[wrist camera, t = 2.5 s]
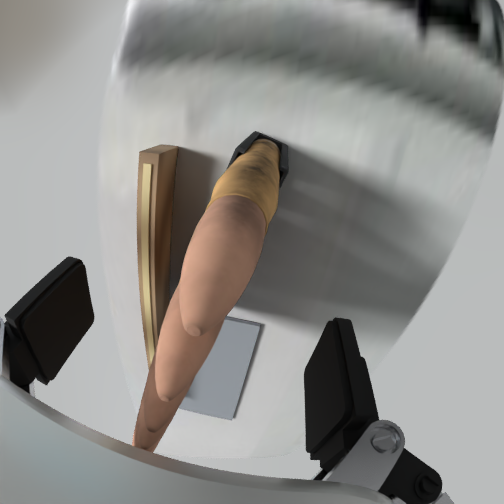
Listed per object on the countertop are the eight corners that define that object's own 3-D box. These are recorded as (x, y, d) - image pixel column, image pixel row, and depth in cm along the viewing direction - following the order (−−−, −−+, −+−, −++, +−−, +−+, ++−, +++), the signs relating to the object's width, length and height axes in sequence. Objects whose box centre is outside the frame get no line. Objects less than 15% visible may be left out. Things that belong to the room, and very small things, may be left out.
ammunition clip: (213, 300, 18) (157, 479, 7) (187, 289, 18) (112, 461, 7) (288, 146, 13) (319, 303, 2) (254, 130, 13) (127, 219, 2)
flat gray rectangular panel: (174, 304, 18) (173, 307, 18) (260, 323, 18) (260, 326, 18) (177, 405, 26) (176, 407, 25) (232, 418, 26) (231, 420, 25)
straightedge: (161, 144, 13) (138, 152, 11) (178, 146, 13) (158, 154, 11) (163, 386, 24) (155, 406, 22) (172, 388, 24) (165, 409, 22)
